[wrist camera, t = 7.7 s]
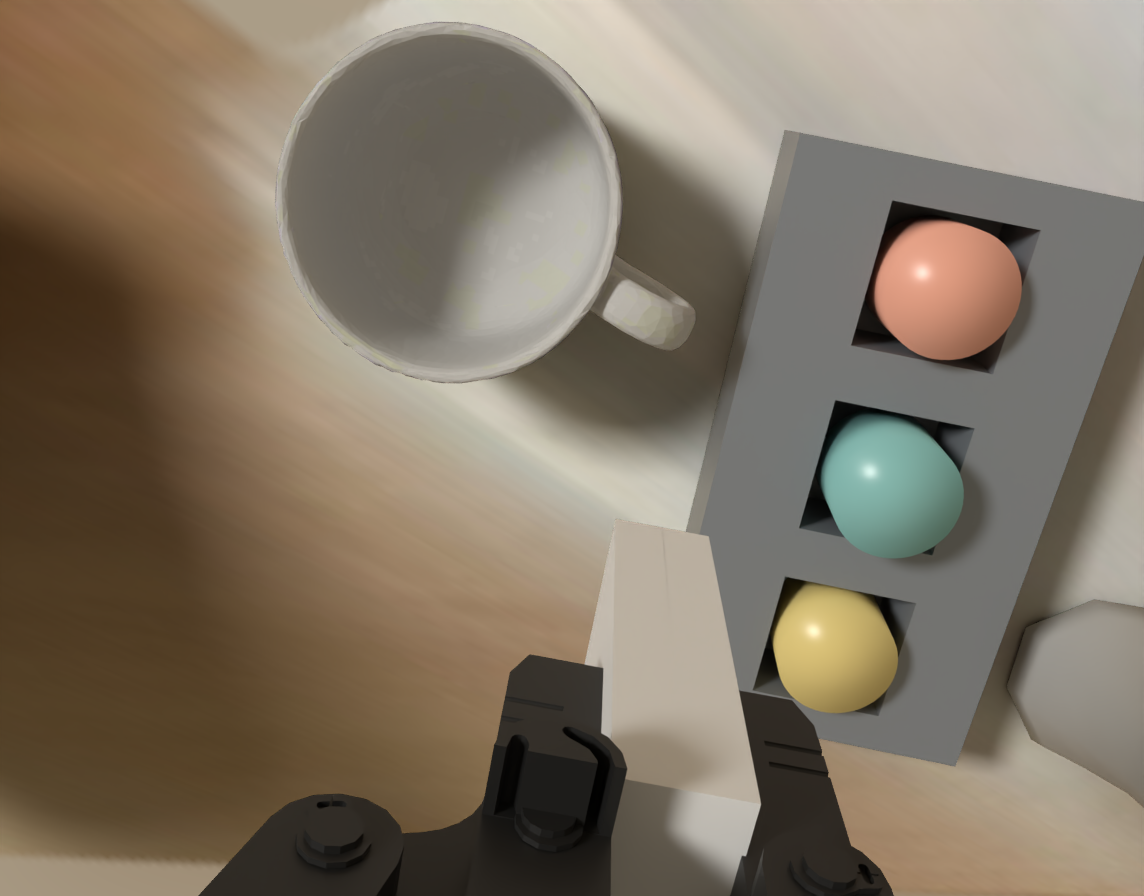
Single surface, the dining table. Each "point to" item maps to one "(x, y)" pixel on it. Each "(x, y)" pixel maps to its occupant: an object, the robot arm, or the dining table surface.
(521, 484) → the dining table surface
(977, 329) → the salmon orange ball
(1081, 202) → the console
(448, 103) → the teacup
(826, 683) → the mustard button
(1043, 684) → the flask
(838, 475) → the teal button
